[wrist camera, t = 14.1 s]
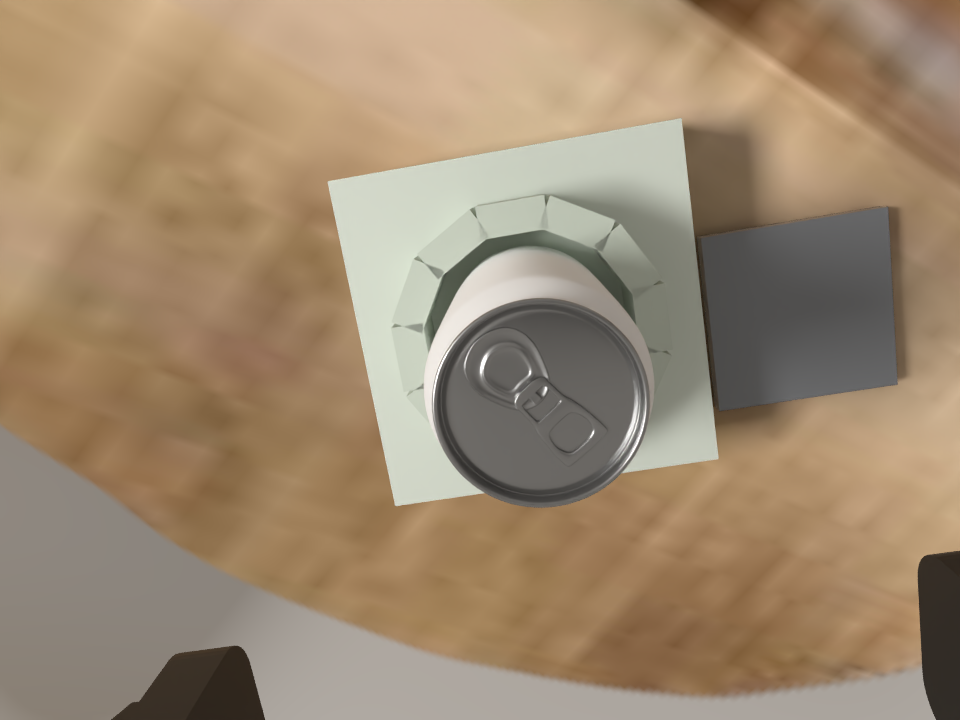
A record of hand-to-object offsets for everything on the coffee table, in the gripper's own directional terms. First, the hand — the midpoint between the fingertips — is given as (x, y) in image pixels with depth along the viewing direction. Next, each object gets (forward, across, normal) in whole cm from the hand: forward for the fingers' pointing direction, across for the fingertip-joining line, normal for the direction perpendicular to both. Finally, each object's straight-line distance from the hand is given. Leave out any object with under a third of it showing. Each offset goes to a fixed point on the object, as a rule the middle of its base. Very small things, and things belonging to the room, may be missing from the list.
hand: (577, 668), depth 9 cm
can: (+23, 0, 0) cm, 23 cm away
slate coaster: (+27, -12, +2) cm, 29 cm away
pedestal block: (+27, 0, 0) cm, 27 cm away
